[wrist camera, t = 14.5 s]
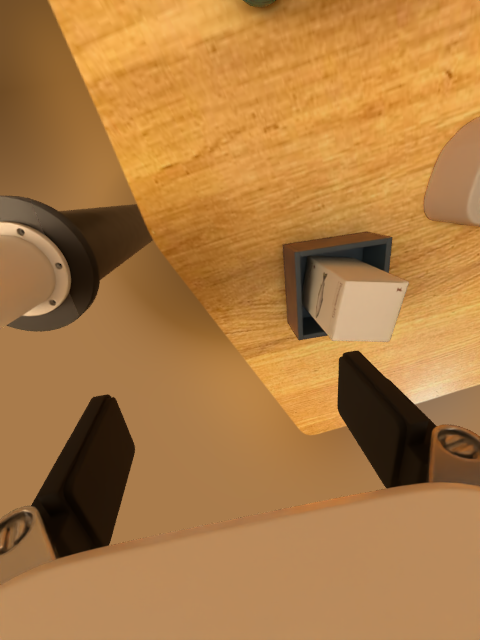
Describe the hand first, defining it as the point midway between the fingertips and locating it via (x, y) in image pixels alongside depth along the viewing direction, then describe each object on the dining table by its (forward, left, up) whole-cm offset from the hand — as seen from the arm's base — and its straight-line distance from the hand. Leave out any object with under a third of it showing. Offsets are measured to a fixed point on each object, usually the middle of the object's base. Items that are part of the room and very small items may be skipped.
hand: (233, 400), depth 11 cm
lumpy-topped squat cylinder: (+36, +6, -30) cm, 47 cm away
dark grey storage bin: (+16, -6, -30) cm, 34 cm away
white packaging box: (+16, -6, -30) cm, 34 cm away
